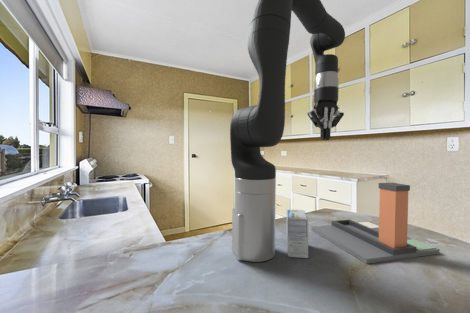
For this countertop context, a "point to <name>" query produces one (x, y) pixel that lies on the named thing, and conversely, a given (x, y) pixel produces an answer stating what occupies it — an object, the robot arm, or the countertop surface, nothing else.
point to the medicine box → (297, 234)
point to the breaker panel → (369, 242)
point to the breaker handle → (393, 214)
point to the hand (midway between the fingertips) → (325, 140)
